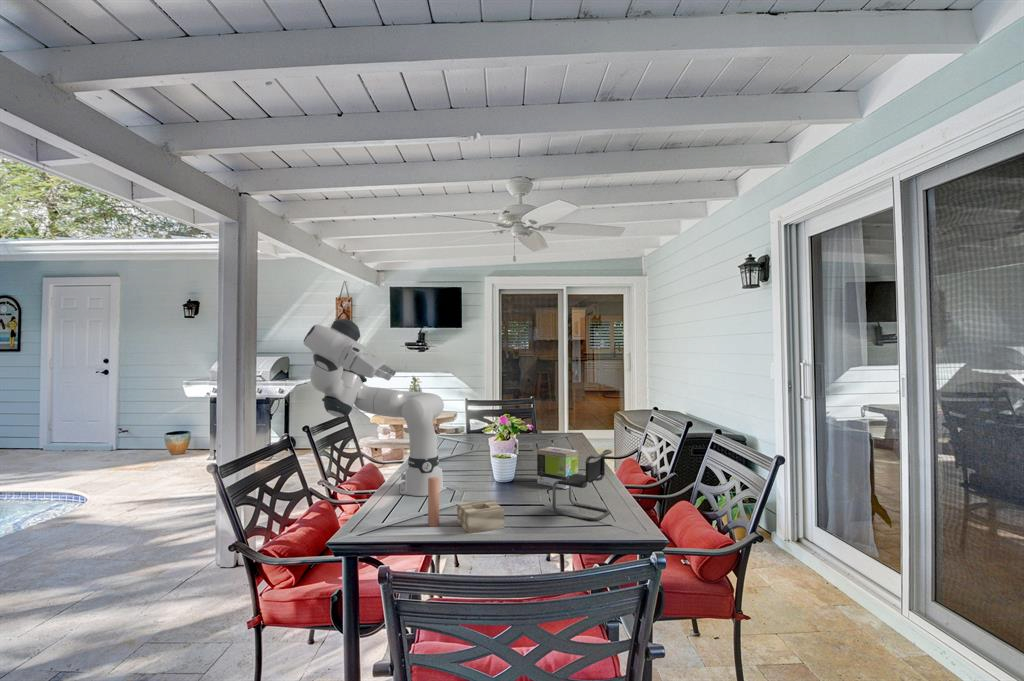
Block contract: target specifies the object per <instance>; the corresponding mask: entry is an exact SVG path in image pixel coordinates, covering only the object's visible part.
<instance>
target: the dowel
mask: <svg viewBox="0 0 1024 681" xmlns="http://www.w3.org/2000/svg"><path fill="white" fill-rule="evenodd" d="M427 521H428V522H427V525H428V527H432V528H433V527H434V528H435V527H436V528H437V527H438V526H440V493H439V478H437V477H432V478H428V495H427Z"/></svg>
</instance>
